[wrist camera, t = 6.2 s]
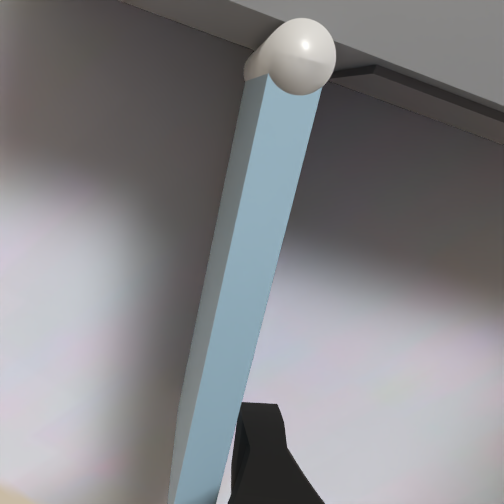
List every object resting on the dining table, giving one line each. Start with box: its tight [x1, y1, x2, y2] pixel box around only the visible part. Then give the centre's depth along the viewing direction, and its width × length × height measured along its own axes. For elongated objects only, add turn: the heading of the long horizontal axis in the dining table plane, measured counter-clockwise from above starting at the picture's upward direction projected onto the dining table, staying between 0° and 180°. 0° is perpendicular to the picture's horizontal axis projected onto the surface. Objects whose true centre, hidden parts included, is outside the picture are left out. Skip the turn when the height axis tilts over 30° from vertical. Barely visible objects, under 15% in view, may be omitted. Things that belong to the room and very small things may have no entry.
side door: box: [167, 18, 336, 504], centre depth 10 cm, size 10×1×5 cm, turn 167°
